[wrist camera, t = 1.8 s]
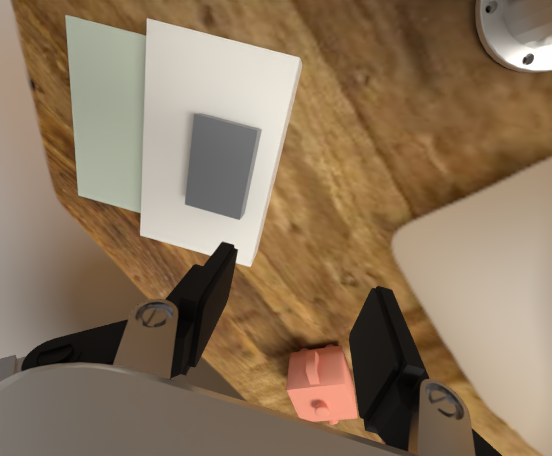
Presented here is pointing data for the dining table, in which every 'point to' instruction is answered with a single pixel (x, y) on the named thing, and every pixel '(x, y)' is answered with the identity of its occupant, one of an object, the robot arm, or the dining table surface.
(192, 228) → the plate
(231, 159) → the tile
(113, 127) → the mat
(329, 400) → the pink cube teapot
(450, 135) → the dining table surface
